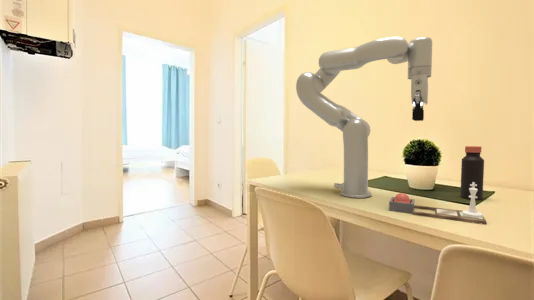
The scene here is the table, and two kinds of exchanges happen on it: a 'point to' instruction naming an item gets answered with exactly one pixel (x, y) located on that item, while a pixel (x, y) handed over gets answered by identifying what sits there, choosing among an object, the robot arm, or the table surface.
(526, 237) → the table surface
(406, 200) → the pop dome
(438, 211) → the game board
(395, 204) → the dome housing
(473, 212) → the chess piece
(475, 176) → the bottle
